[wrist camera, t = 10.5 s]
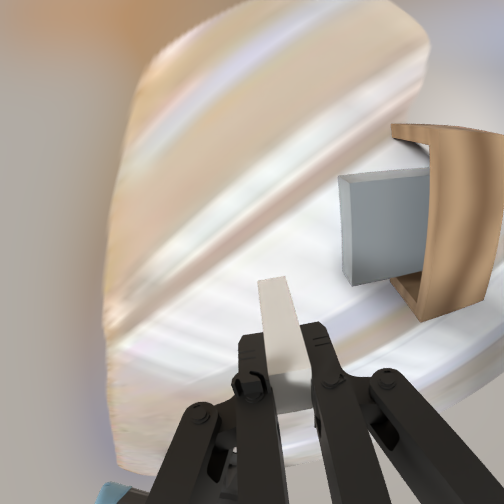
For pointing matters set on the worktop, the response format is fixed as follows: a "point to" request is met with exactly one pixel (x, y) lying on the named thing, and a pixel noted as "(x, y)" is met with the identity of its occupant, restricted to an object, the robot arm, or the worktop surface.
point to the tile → (383, 223)
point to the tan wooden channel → (456, 218)
